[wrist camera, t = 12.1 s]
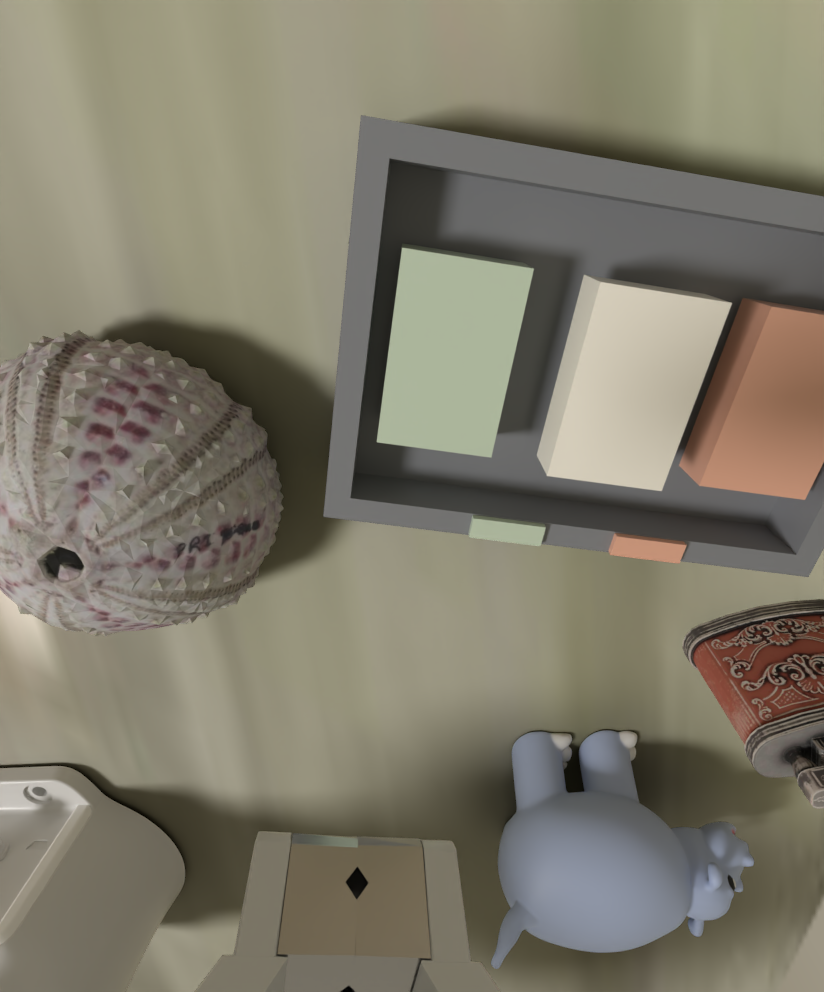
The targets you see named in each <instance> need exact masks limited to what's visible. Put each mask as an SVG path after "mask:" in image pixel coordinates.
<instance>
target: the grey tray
mask: <svg viewBox="0 0 824 992" xmlns="http://www.w3.org/2000/svg"><path fill="white" fill-rule="evenodd" d="M402 243H404V244H410V245H417V246H423V247H429V248H435V249H441V250H448V251H454V252H460V253H466V254H473V255H479V256H485V257H491V258H498V259H504V260H510V261H516V262H523V263H525V264H527V265H528V266H530V267H532V268H534V271H533V275H532V280H531V284H530V289H529V293H528V297H527V302H526V306H525V311H524V315H523V320H522V324H521V328H520V333H519V337H518V342H517V346H516V351H515V355H514V359H513V364H512V368H511V373H510V377H509V382H508V386H507V390H506V395H505V399H504V404H503V408H502V413H501V417H500V421H499V426H498V430H497V435H496V439H495V444H494V448H493V452H492V457H491V458H490V457H483V456H475V455H468V454H460V453H453V452H445V451H438V450H431V449H423V448H416V447H408V446H401V445H393V444H386V443H378V442H377V435H378V426H379V418H380V410H381V403H382V395H383V387H384V380H385V372H386V364H387V357H388V349H389V341H390V334H391V326H392V319H393V311H394V303H395V296H396V288H397V280H398V273H399V265H400V257H401V250H402ZM584 275H590V276H596V277H602V278H608V279H615V280H621V281H627V282H633V283H640V284H646V285H652V286H658V287H665V288H671V289H677V290H684V291H690V292H696V293H702V294H707V295H710V296H713V297H716V298H719V299H722V300H725V301H728V302H731V303H732V305H731V307H730V310H729V313H728V315H727V318H726V321H725V323H724V326H723V329H722V331H721V334H720V337H719V339H718V342H717V345H716V347H715V350H714V353H713V355H712V358H711V361H710V363H709V366H708V369H707V371H706V374H705V377H704V379H703V382H702V385H701V387H700V390H699V393H698V396H697V398H696V401H695V404H694V406H693V409H692V412H691V414H690V417H689V420H688V422H687V425H686V428H685V430H684V433H683V436H682V438H681V441H680V444H679V446H678V449H677V452H676V454H675V457H674V460H673V462H672V465H671V468H670V470H669V473H668V476H667V478H666V481H665V484H664V486H663V489H662V491H656V490H648V489H641V488H633V487H626V486H618V485H611V484H603V483H596V482H588V481H581V480H573V479H566V478H558V477H551V476H547V475H546V473H545V471H544V469H543V467H542V465H541V463H540V461H539V459H538V457H537V452H538V448H539V444H540V441H541V437H542V433H543V429H544V425H545V422H546V418H547V414H548V410H549V406H550V402H551V399H552V395H553V391H554V387H555V383H556V380H557V376H558V372H559V368H560V364H561V360H562V357H563V353H564V349H565V345H566V341H567V338H568V334H569V330H570V326H571V322H572V319H573V315H574V311H575V307H576V303H577V299H578V296H579V292H580V288H581V284H582V280H583V277H584ZM742 298H747V299H753V300H760V301H766V302H772V303H778V304H785V305H791V306H797V307H803V308H810V309H816V310H822V311H824V196H818V195H812V194H807V193H801V192H795V191H790V190H784V189H778V188H773V187H767V186H761V185H756V184H750V183H744V182H738V181H733V180H727V179H721V178H716V177H710V176H704V175H699V174H693V173H687V172H681V171H676V170H670V169H664V168H659V167H653V166H647V165H642V164H636V163H630V162H624V161H619V160H613V159H607V158H602V157H596V156H590V155H585V154H579V153H573V152H568V151H562V150H556V149H550V148H545V147H539V146H533V145H528V144H522V143H516V142H511V141H505V140H499V139H493V138H488V137H482V136H476V135H471V134H465V133H459V132H454V131H448V130H442V129H437V128H431V127H425V126H419V125H414V124H408V123H402V122H397V121H391V120H385V119H380V118H374V117H368V116H362V115H361V121H360V131H359V142H358V153H357V163H356V174H355V185H354V195H353V206H352V217H351V227H350V238H349V249H348V259H347V270H346V281H345V291H344V302H343V313H342V323H341V334H340V345H339V355H338V366H337V377H336V387H335V398H334V409H333V419H332V430H331V441H330V451H329V462H328V473H327V483H326V494H325V505H324V515H323V517H329V518H337V519H345V520H353V521H361V522H369V523H377V524H385V525H393V526H401V527H410V528H418V529H426V530H434V531H442V532H450V533H458V534H466V535H469V538H478V539H486V540H494V541H502V542H510V543H518V544H526V545H534V546H541V544H546V545H555V546H563V547H571V548H579V549H587V550H595V551H603V552H609V553H610V555H615V556H623V557H631V558H639V559H647V560H655V561H663V562H671V563H680V561H683V562H692V563H700V564H708V565H716V566H724V567H732V568H740V569H748V570H756V571H764V572H772V573H780V574H788V575H796V576H804V577H809V575H810V573H811V571H812V569H813V567H814V566H815V564H816V562H817V560H818V558H819V556H820V554H821V552H822V551H823V549H824V463H823V465H822V467H821V469H820V471H819V473H818V475H817V477H816V479H815V481H814V483H813V485H812V487H811V489H810V491H809V493H808V495H807V497H806V499H805V500H801V499H794V498H786V497H779V496H771V495H764V494H757V493H749V492H742V491H734V490H727V489H719V488H712V487H704V486H699V485H698V484H697V483H696V482H695V481H694V480H693V479H692V478H691V477H690V476H689V475H688V474H687V473H686V472H685V471H684V470H683V469H682V468H681V467H680V466H679V464H680V461H681V459H682V456H683V453H684V451H685V448H686V446H687V443H688V440H689V438H690V435H691V432H692V430H693V427H694V425H695V422H696V419H697V417H698V414H699V411H700V409H701V406H702V403H703V401H704V398H705V396H706V393H707V390H708V388H709V385H710V382H711V380H712V377H713V375H714V372H715V369H716V367H717V364H718V361H719V359H720V356H721V354H722V351H723V348H724V346H725V343H726V340H727V338H728V335H729V333H730V330H731V327H732V325H733V322H734V319H735V317H736V314H737V312H738V309H739V306H740V304H741V301H742Z"/></svg>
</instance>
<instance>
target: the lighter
mask: <svg viewBox="0 0 824 992" xmlns="http://www.w3.org/2000/svg"><path fill="white" fill-rule="evenodd" d="M682 647H683V651H684V653H685V655H686V657H687V658H688V660H689V662H690V663H691V665H692V666H693V667H694V668H695V669H697V670H699V671H700V673H701V675H702V676H703V678H704V679H705V681H706V683H707V684H708V686H709V688H710V689H711V691H712V692H713V694H714V696H715V697H716V699H717V701H718V702H719V704H720V705H721V707H722V709H723V710H724V712H725V714H726V715H727V717H728V718H729V720H730V722H731V723H732V725H733V726H734V728H735V730H736V731H737V733H738V735H739V736H740V738H741V739H742V741H743V743H744V744H745V748H744V749H745V752H746V755H747V757H748V759H749V760H750V762H751V763H752V765H753V767H754V768H755V770H756V771H757V772H758V773H759V774H761V775H763V776H765V777H773V778H777V777H793V776H795V777H796V778H797V782H798V785H799V787H800V788H801V790H802V791H803V793H804V794H805V796H806V797H807V799H808V800H809V802H810V803H811V805H812V806H813V807H814V808H824V600H806V601H792V602H784V603H778V604H771V605H765V606H759V607H755V608H751V609H747V610H744V611H740V612H736V613H732V614H729V615H725V616H723V617H720V618H717V619H714V620H712V621H709V622H706V623H703V624H701V625H698V626H696V627H694V628H692V629H691V630H690V631H689V632H688V633H687V634H686V636H685V638H684V640H683V646H682Z"/></svg>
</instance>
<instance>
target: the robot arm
mask: <svg viewBox="0 0 824 992" xmlns="http://www.w3.org/2000/svg"><path fill="white" fill-rule="evenodd" d="M291 840H292V843H291ZM290 849H291V850H290ZM184 881H185V866H184V862H183V859H182V856H181V854H180V852H179V850H178V849H177V847H176V846H175V844H174V843H173V842H172V840H171V839H170V838H169V837H168V836H167V835H166V834H165V833H164V832H163V831H162V830H161V829H160V828H159V827H157V826H156V825H155V824H154V823H152V822H151V821H149V820H148V819H147V818H145V817H143V816H142V815H140V814H138V813H137V812H135V811H133V810H131V809H129V808H127V807H125V806H123V805H121V804H119V803H117V802H115V801H113V800H111V799H110V798H108V797H107V796H105V795H104V794H103V793H102V792H101V791H100V790H99V789H98V788H97V787H96V786H95V785H94V784H93V783H92V782H91V781H89V780H88V779H87V778H86V777H85V776H84V775H82V774H81V773H79V772H78V771H76V770H74V769H72V768H69V767H64V766H43V767H19V768H0V992H126V991H127V988H128V986H129V984H130V982H131V980H132V978H133V975H134V973H135V971H136V969H137V967H138V965H139V963H140V961H141V959H142V957H143V955H144V953H145V951H146V949H147V947H148V945H149V943H150V941H151V939H152V938H153V936H154V934H155V932H156V930H157V929H158V927H159V925H160V923H161V921H162V920H163V918H164V916H165V915H166V913H167V912H168V910H169V908H170V907H171V905H172V904H173V902H174V901H175V899H176V898H177V896H178V895H179V893H180V891H181V890H182V887H183V885H184ZM194 992H501V991H500V990H499V988H498V987H497V985H496V984H495V982H494V981H493V979H492V978H491V976H490V975H489V973H488V972H487V970H486V969H485V967H484V966H483V964H482V963H481V962H474V961H471V957H470V949H469V942H468V934H467V926H466V919H465V911H464V904H463V896H462V888H461V881H460V873H459V866H458V858H457V850H456V848H455V846H454V843H453V842H452V841H450V840H420V839H419V838H392V837H362V836H357V837H346V836H330V835H313V834H297V833H293V836H292V833H290V832H268V831H258V834H257V838H256V841H255V844H254V849H253V854H252V860H251V865H250V870H249V875H248V881H247V886H246V891H245V897H244V902H243V907H242V912H241V918H240V923H239V928H238V934H237V939H236V944H235V949H234V955H222V956H221V958H220V959H219V960H218V962H217V963H216V964H215V965H214V967H213V968H212V969H211V971H210V972H209V973H208V975H207V976H206V977H205V978H204V980H203V981H202V982H201V984H200V985H199V986H198V988H197V989H196V990H195V991H194Z"/></svg>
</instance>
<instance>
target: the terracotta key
mask: <svg viewBox="0 0 824 992" xmlns="http://www.w3.org/2000/svg"><path fill="white" fill-rule="evenodd" d="M823 463H824V311H822V310H816V309H810V308H803V307H797V306H791V305H785V304H778V303H772V302H766V301H760V300H753V299H747V298H742V301H741V304H740V306H739V309H738V312H737V314H736V317H735V319H734V322H733V325H732V327H731V330H730V333H729V335H728V338H727V340H726V343H725V346H724V348H723V351H722V354H721V356H720V359H719V361H718V364H717V367H716V369H715V372H714V375H713V377H712V380H711V382H710V385H709V388H708V390H707V393H706V396H705V398H704V401H703V403H702V406H701V409H700V411H699V414H698V417H697V419H696V422H695V425H694V427H693V430H692V432H691V435H690V438H689V440H688V443H687V446H686V448H685V451H684V453H683V456H682V459H681V461H680V464H679V466H680V467H681V468H682V469H683V470H684V471H685V472H686V473H687V474H688V475H689V476H690V477H691V478H692V479H693V480H694V481H695V482H696V483H697V484H698V485H699V486H704V487H712V488H719V489H727V490H734V491H742V492H749V493H757V494H764V495H771V496H779V497H786V498H794V499H801V500H805V499H806V497H807V495H808V493H809V491H810V489H811V487H812V485H813V483H814V481H815V479H816V477H817V475H818V473H819V471H820V469H821V467H822V465H823Z"/></svg>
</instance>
